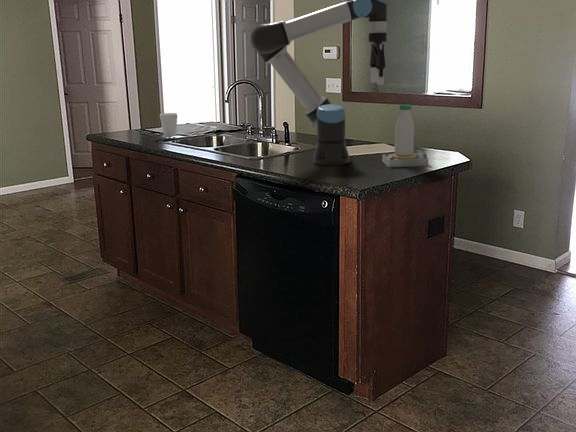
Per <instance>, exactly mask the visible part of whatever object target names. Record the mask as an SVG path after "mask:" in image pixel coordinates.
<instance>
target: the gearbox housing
mask: <svg viewBox="0 0 576 432" xmlns="http://www.w3.org/2000/svg"><path fill="white" fill-rule="evenodd" d="M382 163H383V164H384V165H385V166H387V168H400V167H401V168H403V167H408V168H409V167H423V166H425V167H427V166H429V157H428V156H427V153H426V152H424V151H423V150H421V149H417V152H414V154H413V155H410V156H399V155H395V152H394V153H389V152H388V153H387V152H386V153H383V154H382Z"/></svg>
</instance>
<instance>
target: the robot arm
mask: <svg viewBox="0 0 576 432" xmlns="http://www.w3.org/2000/svg"><path fill="white" fill-rule="evenodd" d="M387 13H388V0H341V1H340V3H338V4H335V5H332V6H328V7H326V8H323V9H320V10H317V11H315V12H312V13H309V14H306V15H302V16H300V17H296V18H293V19H291V20H288V21H284V20H280V21H275V22H271V23H263V24H258V26H256V27H255V28H254V29H253V30H252V32H251V34H250V44H251V46H252V49H253V50H254V51H255V52H256V53H257V54H258V55H259V56H260V58H261V60H262V61H263V62H264V63H265V64H270V65H271V66H272V67H273V68H274V70H275V71H276V72H277V74H278V75H279V76H280V78H281V79H282V81H283V82H284V83H285V84H286V86H287V87H288V88H289V89H290V91H291V92H292V93H293V95H294V96H295V97H296V99H297V100H298V101H299V102H300V104H301V105H302V106H303V107H304V109H305V110H304V115H305V116H306V117H307V118H308V120H309V121H310V122H311V124H312V126H313V127H314V129H316V132H317V133H316V135H317V136H316V137H317V138H316V141H317V144H316V148H315V151H314V155H313V164H315V165H320V166H341V165H346V164H348V163H350V154H349V152H348V148H347V145H346V117H347V116H346V109H345V107H344V106H342V105H339V104H332V103H331V102H330V100H329V99H328V97H327V96H322V95H321V94H320V93H319V91H318V90H317V89H316V87H315V86H314V85H313V84H312V82H311V81H310V79H309V78H308V77H307V76H306V74H305V73H304V71H303V70H302V69H301V68H300V66H299V65H298V64H297V62H296V61H295V59H294V58H293V57H292V56H291V54H290V53H289V52H288V46H290V45H291V42H292V41H296V40H299V39H301V38H304V37H307V36H308V37H309V36H311V35H313V34H317V33H319V32H322V31H326V30H328V29H331V28H333V27H337V26H339V25H342V24H345V23H348V22H351V21H354V20H358V19H363V18H365V19H368V32H369V33H368V42H369V43H372V44H371V47H370V48H371V50H370V60H369V66H370V83H372V84H373V83H374V84H376V85H377V86H384V85H385V68H386V59H385V44H384V42H385V43H386V42H387V40H388V39H387V36H388V35H387V34H388V33H387V30H388V29H387V27H388V25H389V24H388V22H387V21H388V19H387V18H388V17H387V16H388V15H387Z"/></svg>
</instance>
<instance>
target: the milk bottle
mask: <svg viewBox="0 0 576 432" xmlns="http://www.w3.org/2000/svg"><path fill="white" fill-rule="evenodd" d="M411 111H412V105H411V104H401V105H399V116H398V118H397V120H396V123H395V128H394V153H395V155H399V156H410V155H413V154H414V153H415V123H414V120H413V118H412V114H411Z"/></svg>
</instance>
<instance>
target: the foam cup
mask: <svg viewBox="0 0 576 432" xmlns="http://www.w3.org/2000/svg"><path fill="white" fill-rule="evenodd" d="M159 119H160V124H161V127H162V133H163V137H164V136H165V137H172V136H176V137H177V128H178V113H176V112H165V113H160V114H159ZM165 137H164V138H165Z"/></svg>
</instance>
